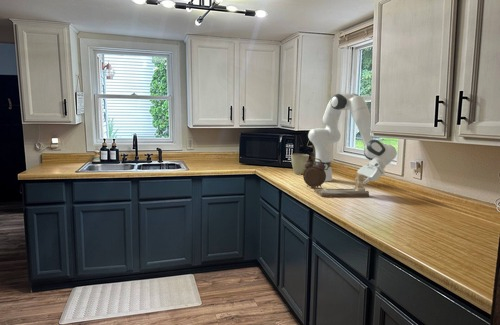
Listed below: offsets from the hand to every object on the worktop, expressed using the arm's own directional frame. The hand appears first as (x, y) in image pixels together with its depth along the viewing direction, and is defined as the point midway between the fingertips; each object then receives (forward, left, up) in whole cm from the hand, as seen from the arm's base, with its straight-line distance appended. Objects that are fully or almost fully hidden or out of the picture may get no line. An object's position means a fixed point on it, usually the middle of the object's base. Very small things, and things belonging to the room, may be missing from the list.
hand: (359, 181), depth 218 cm
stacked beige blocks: (0, 0, -6) cm, 6 cm away
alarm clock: (-21, -22, -8) cm, 31 cm away
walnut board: (-2, -11, -8) cm, 14 cm away
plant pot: (-76, -16, -8) cm, 78 cm away
